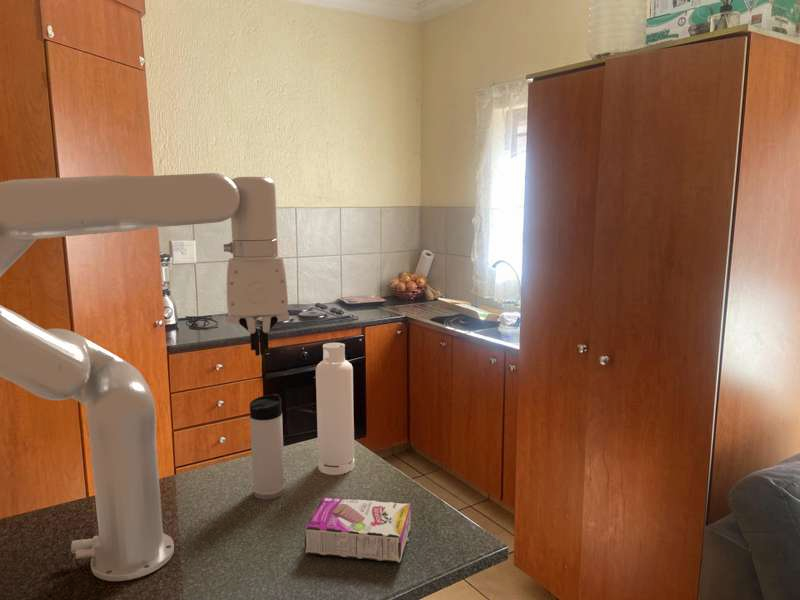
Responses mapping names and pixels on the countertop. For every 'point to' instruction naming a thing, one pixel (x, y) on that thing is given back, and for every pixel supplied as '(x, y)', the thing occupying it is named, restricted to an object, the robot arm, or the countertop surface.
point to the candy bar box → (359, 529)
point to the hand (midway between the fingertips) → (259, 353)
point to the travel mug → (267, 447)
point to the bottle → (335, 411)
